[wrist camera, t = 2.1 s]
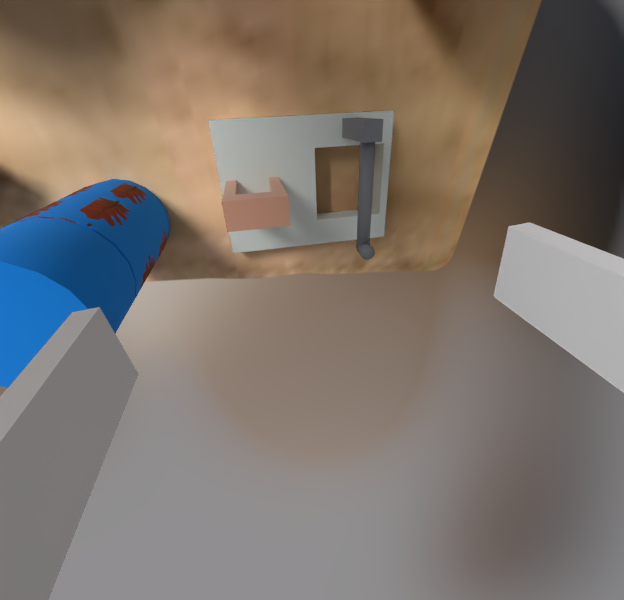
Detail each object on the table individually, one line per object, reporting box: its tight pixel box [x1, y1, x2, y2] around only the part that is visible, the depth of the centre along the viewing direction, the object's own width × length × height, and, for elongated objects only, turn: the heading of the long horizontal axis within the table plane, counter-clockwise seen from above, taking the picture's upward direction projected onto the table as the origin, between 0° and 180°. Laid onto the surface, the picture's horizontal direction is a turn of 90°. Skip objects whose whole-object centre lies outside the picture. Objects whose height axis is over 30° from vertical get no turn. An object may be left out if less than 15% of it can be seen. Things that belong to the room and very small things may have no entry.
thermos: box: [0, 179, 170, 388], centre depth 31 cm, size 11×11×25 cm
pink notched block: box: [222, 177, 291, 232], centre depth 36 cm, size 6×3×10 cm, turn 93°
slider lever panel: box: [209, 111, 394, 259], centre depth 39 cm, size 22×16×12 cm
